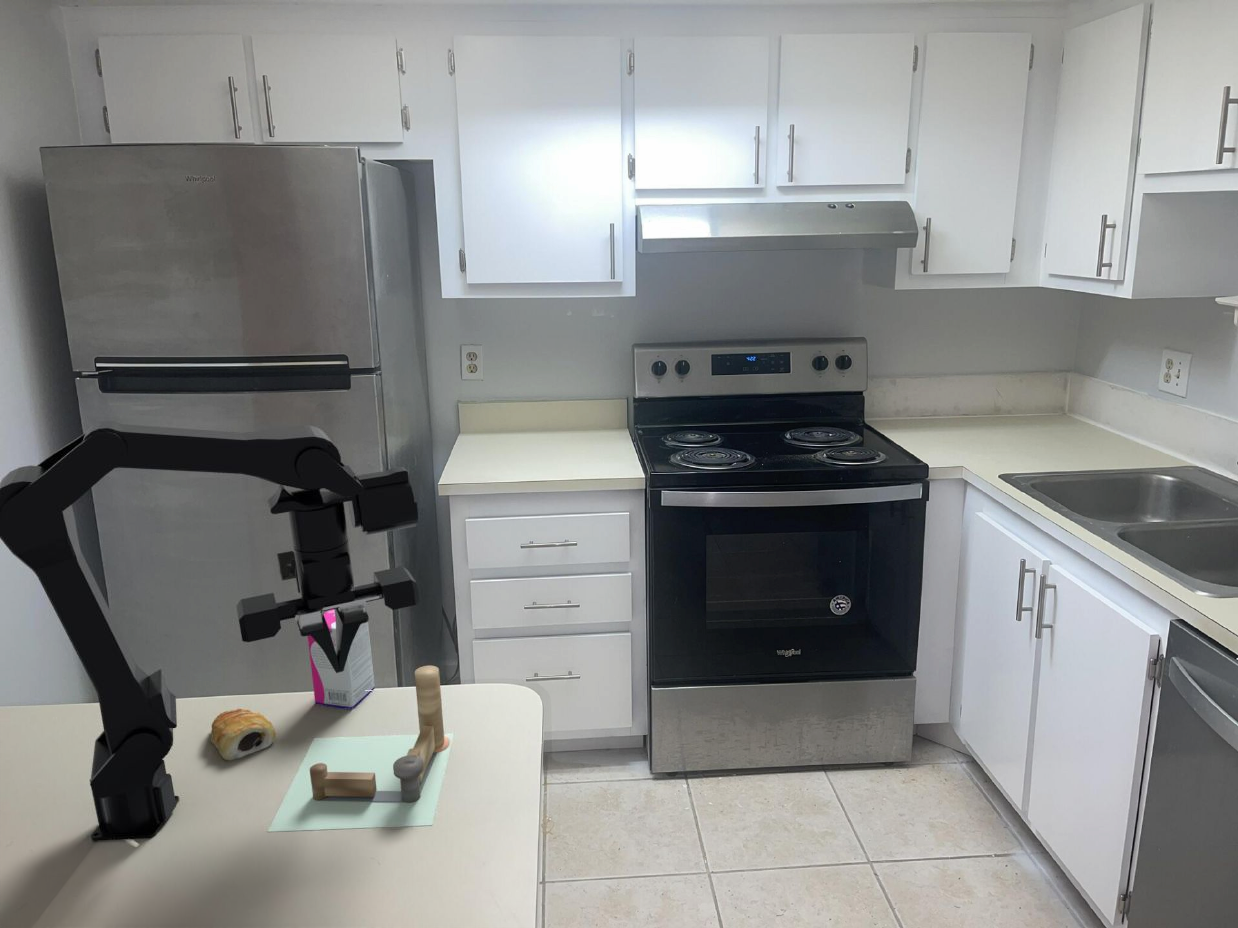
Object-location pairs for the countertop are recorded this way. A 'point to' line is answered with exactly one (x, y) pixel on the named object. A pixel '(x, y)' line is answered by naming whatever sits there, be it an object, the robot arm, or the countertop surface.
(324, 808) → the card
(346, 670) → the supplement box
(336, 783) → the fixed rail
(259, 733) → the pastry
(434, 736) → the rail
